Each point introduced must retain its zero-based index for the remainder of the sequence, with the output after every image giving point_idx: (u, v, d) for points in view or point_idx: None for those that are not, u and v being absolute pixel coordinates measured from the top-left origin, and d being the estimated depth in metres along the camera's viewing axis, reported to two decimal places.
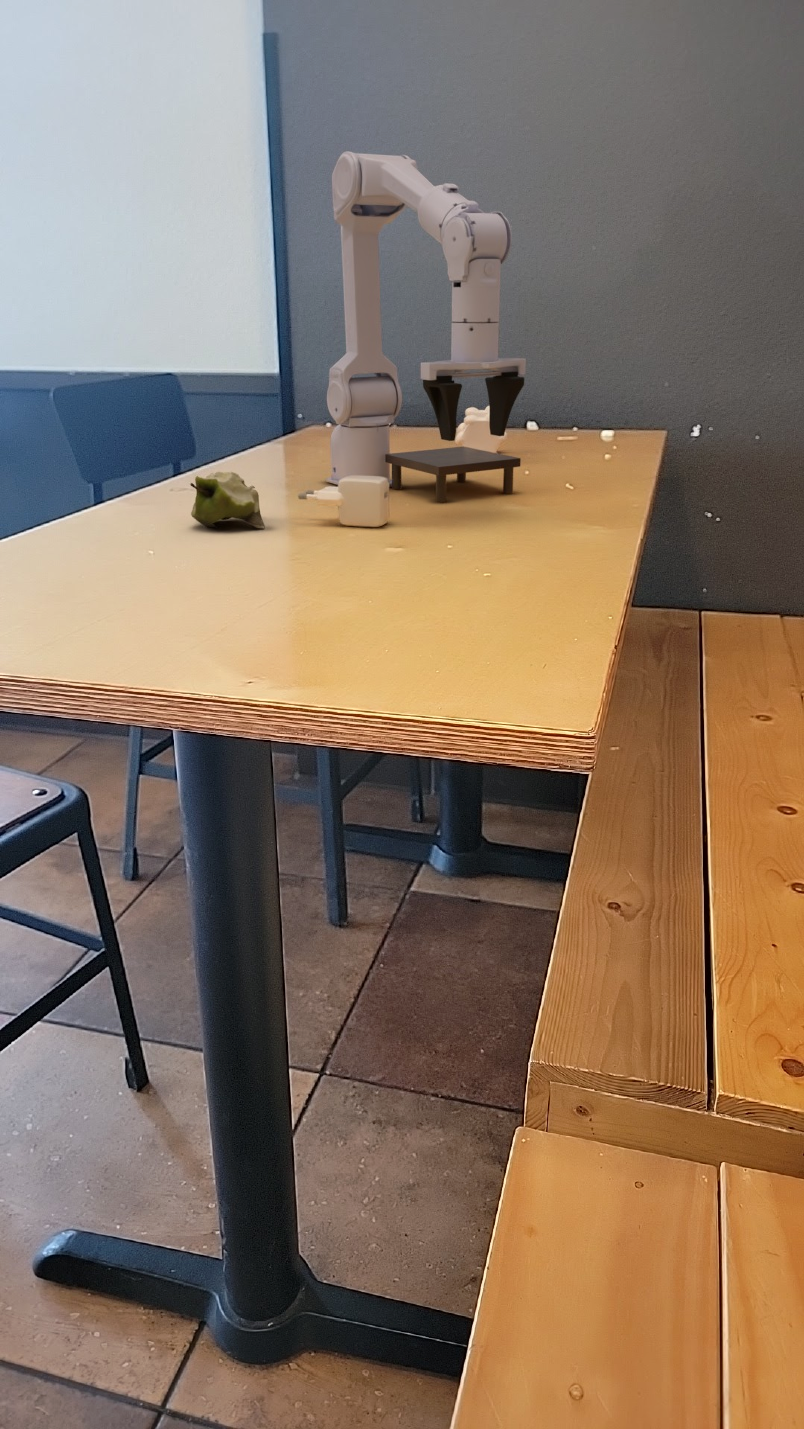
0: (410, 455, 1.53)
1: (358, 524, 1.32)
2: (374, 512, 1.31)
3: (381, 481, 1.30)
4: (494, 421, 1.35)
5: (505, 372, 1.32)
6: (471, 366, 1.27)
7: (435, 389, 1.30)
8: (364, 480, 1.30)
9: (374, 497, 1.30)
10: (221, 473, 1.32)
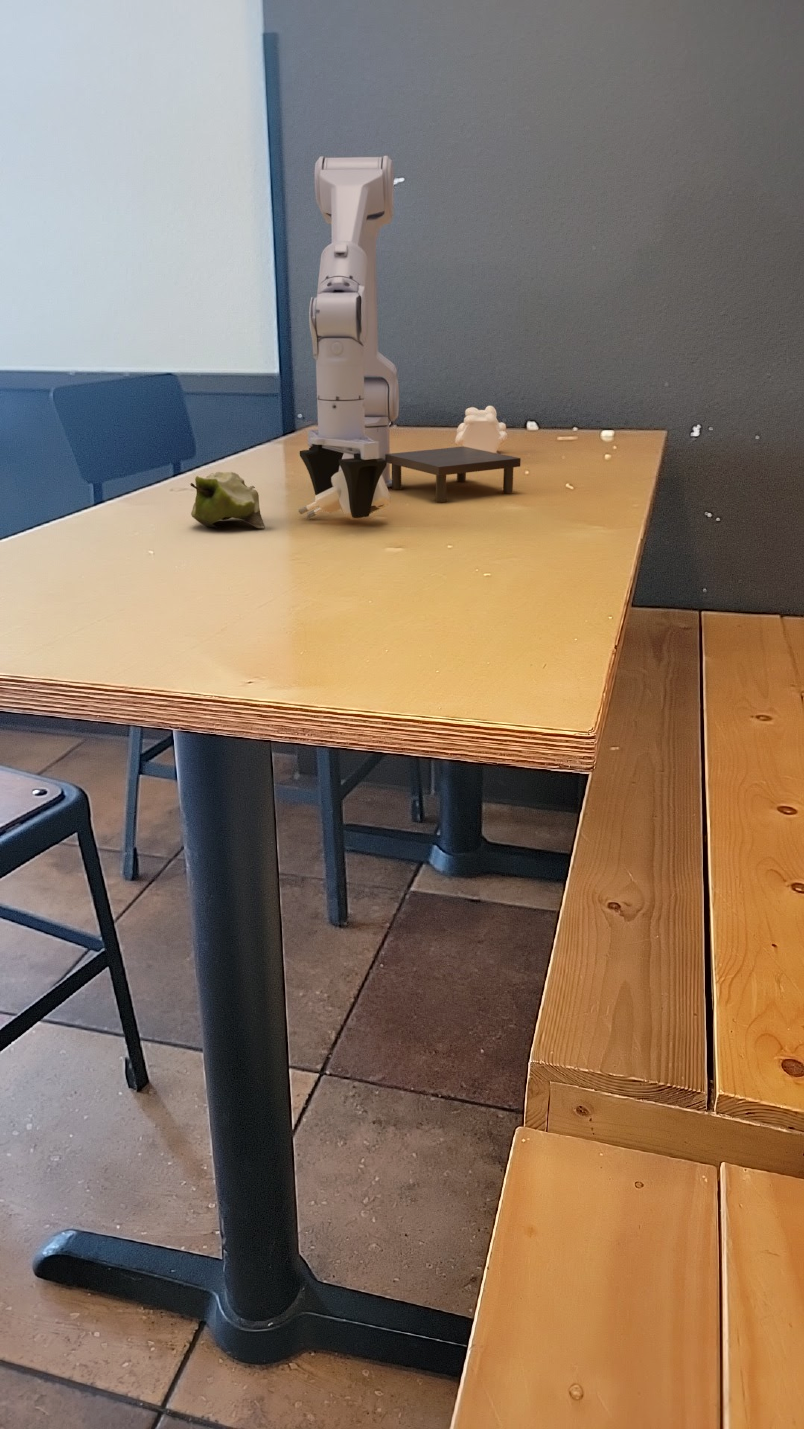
0: (410, 455, 1.53)
1: None
2: None
3: None
4: None
5: (357, 454, 1.27)
6: None
7: None
8: None
9: None
10: (221, 473, 1.32)
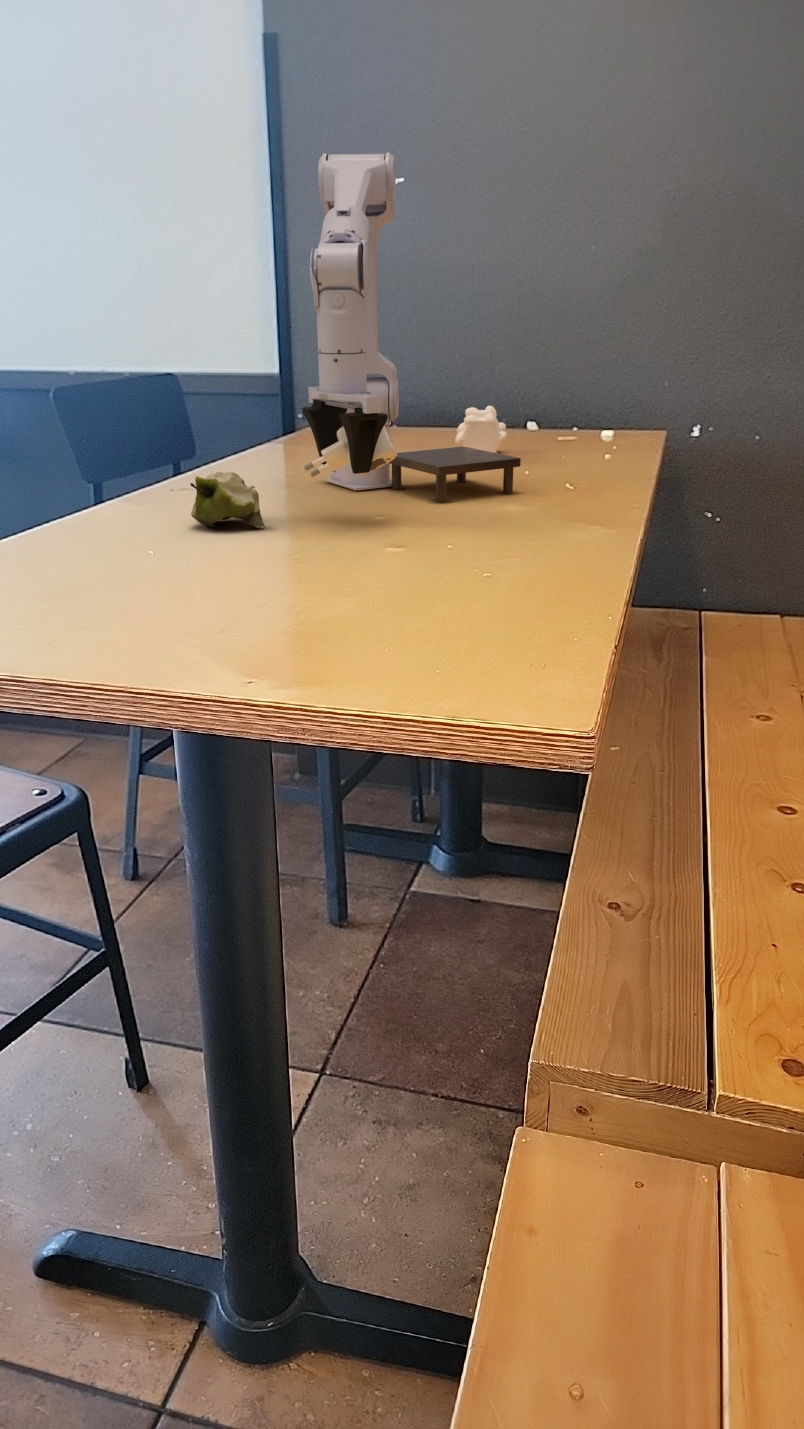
0: (410, 455, 1.53)
1: None
2: (380, 437, 1.29)
3: None
4: None
5: (357, 408, 1.25)
6: None
7: None
8: None
9: None
10: (221, 473, 1.32)
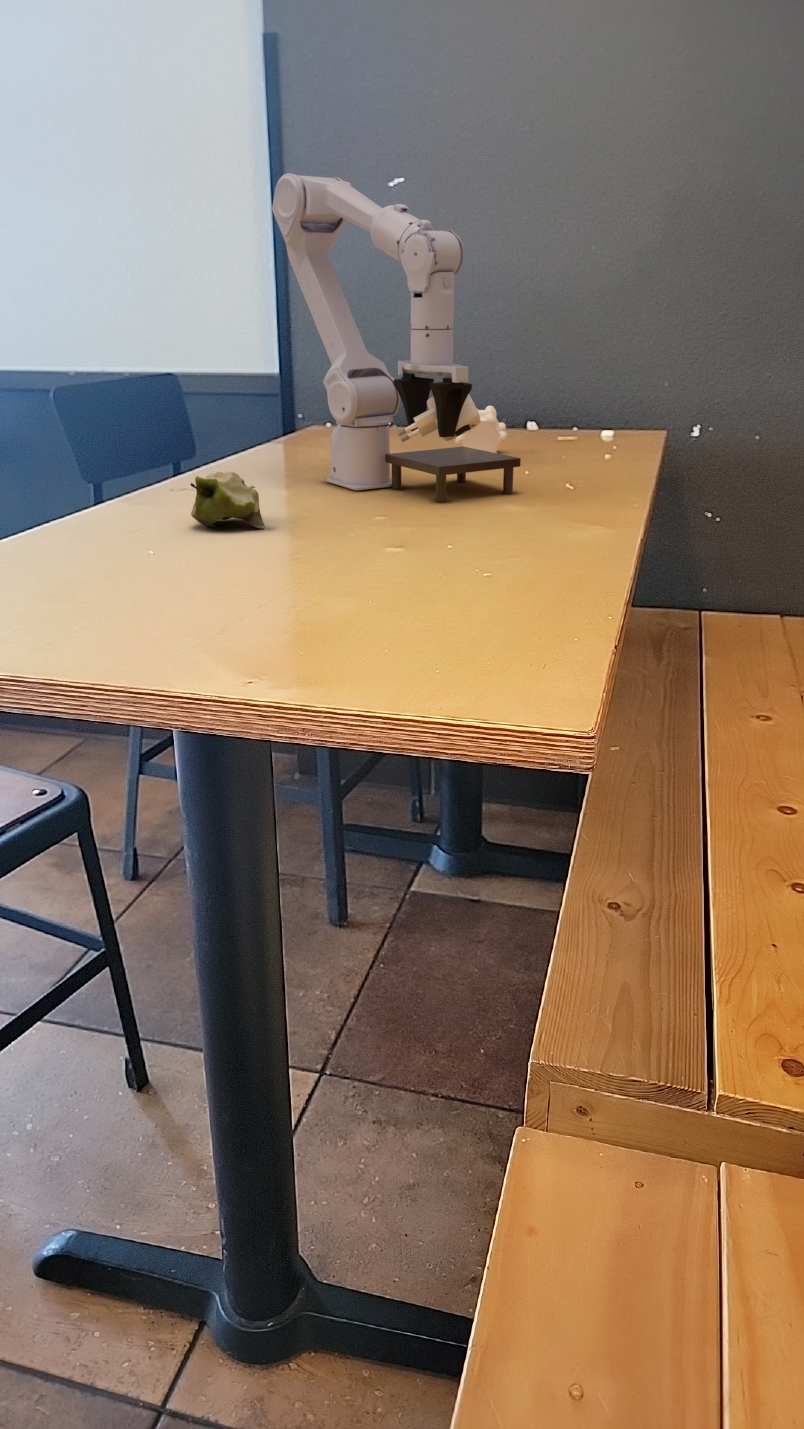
0: (410, 455, 1.53)
1: (459, 424, 1.44)
2: (468, 406, 1.44)
3: None
4: None
5: (445, 378, 1.40)
6: None
7: None
8: None
9: None
10: (221, 473, 1.32)
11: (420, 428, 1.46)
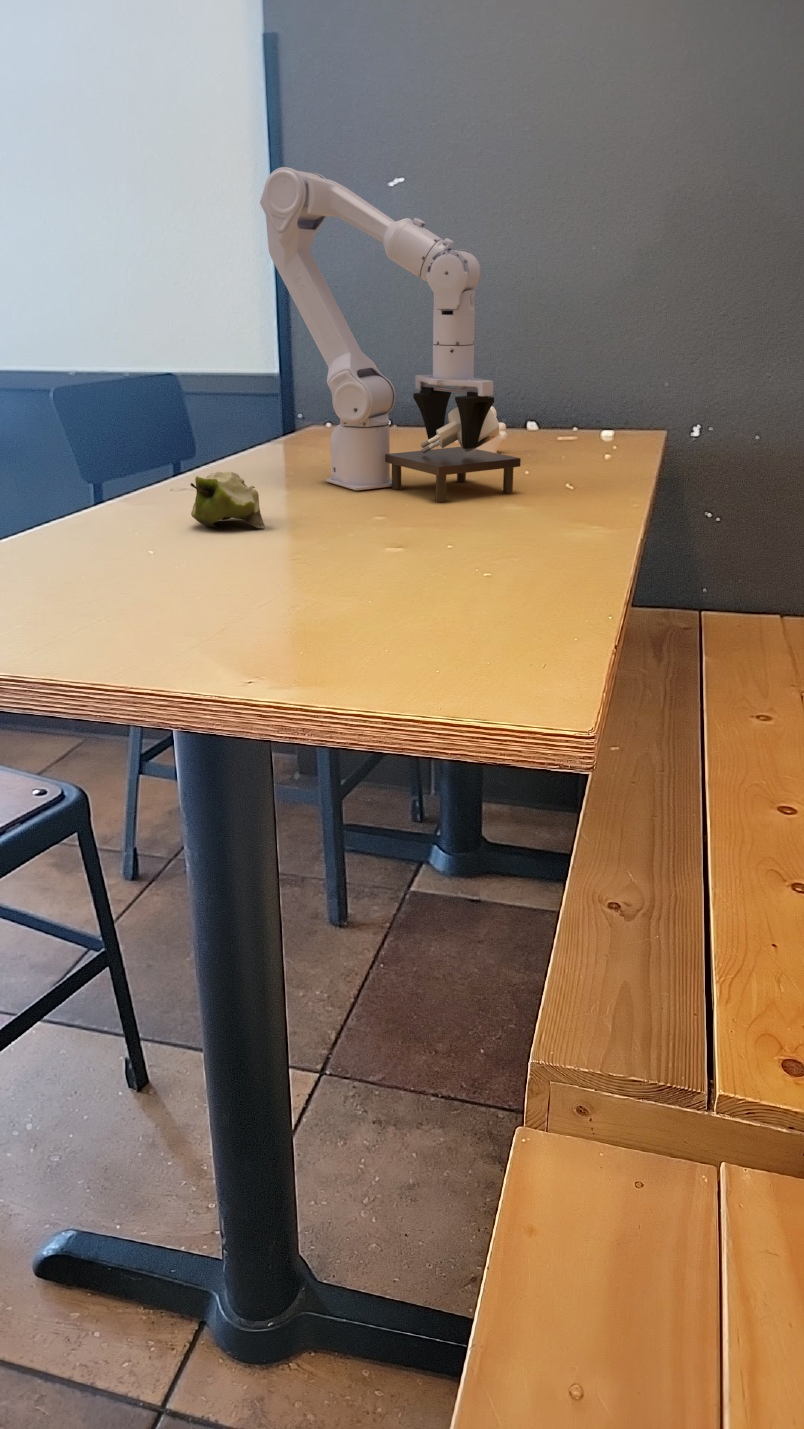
0: (410, 455, 1.53)
1: (481, 435, 1.50)
2: (489, 418, 1.50)
3: None
4: None
5: (470, 391, 1.46)
6: None
7: None
8: None
9: None
10: (221, 473, 1.32)
11: (443, 440, 1.51)
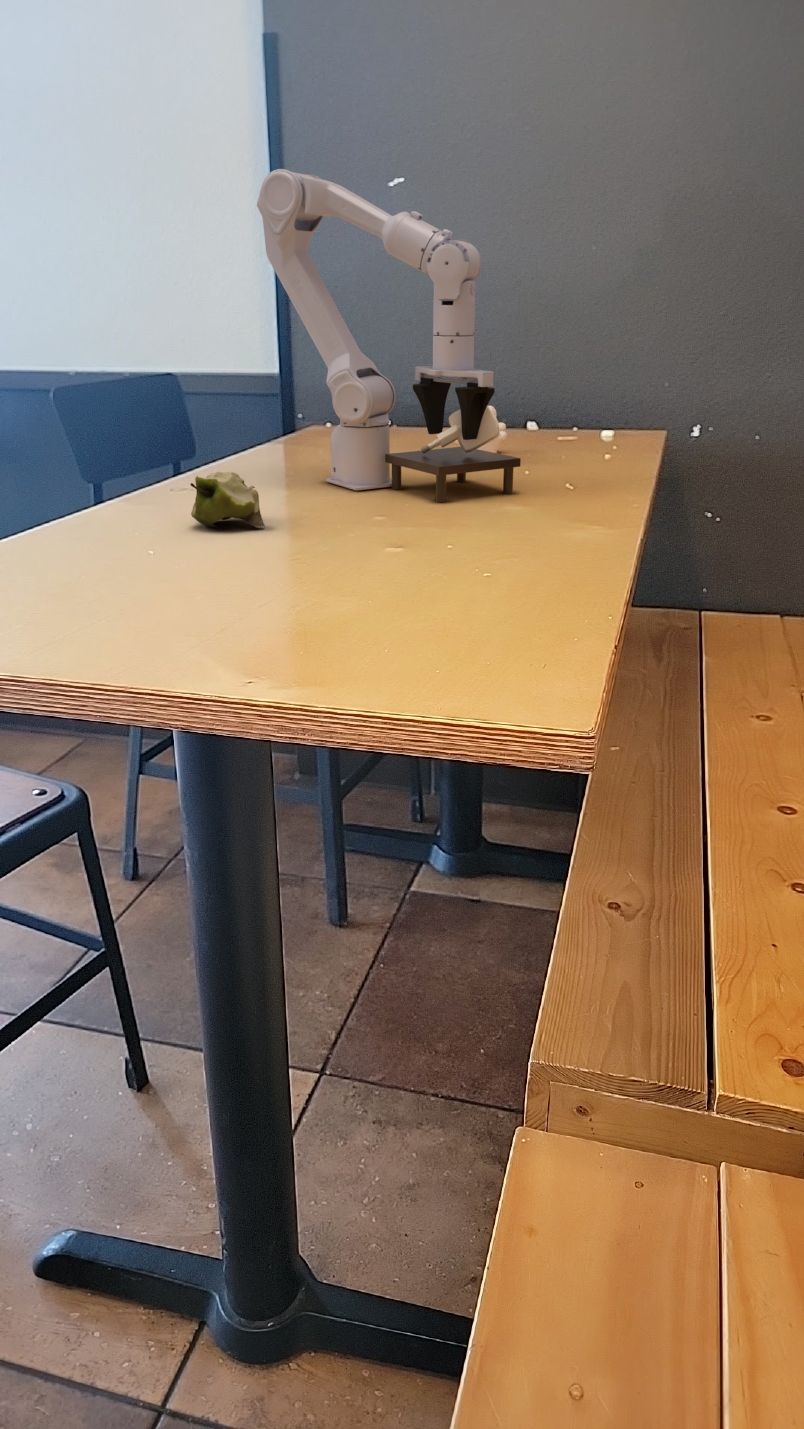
0: (410, 455, 1.53)
1: (482, 442, 1.50)
2: (490, 424, 1.49)
3: None
4: None
5: (470, 382, 1.45)
6: None
7: None
8: None
9: (484, 412, 1.49)
10: (221, 473, 1.32)
11: (443, 445, 1.50)
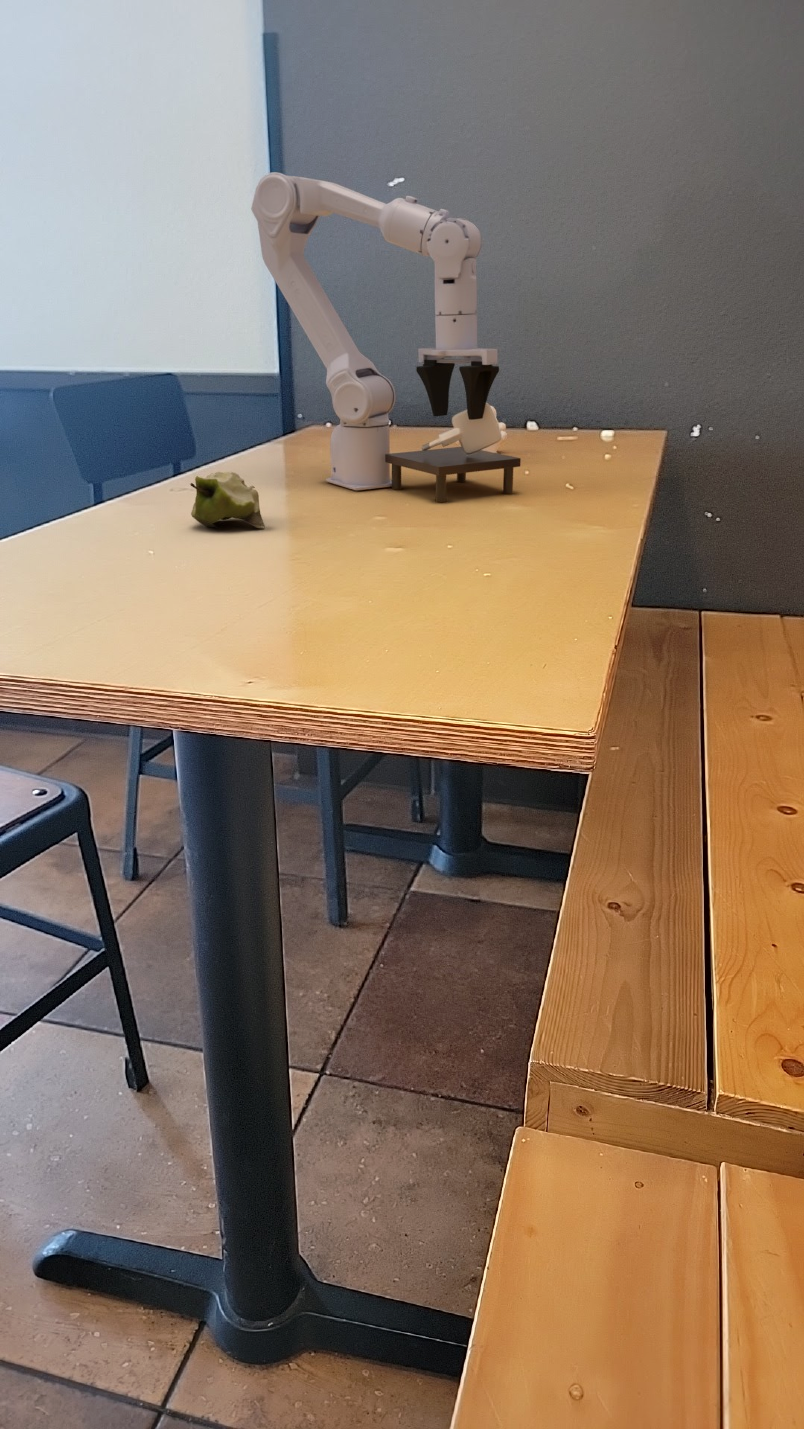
0: (410, 455, 1.53)
1: (483, 446, 1.50)
2: (492, 429, 1.49)
3: (486, 402, 1.49)
4: None
5: (474, 361, 1.44)
6: None
7: None
8: None
9: (488, 417, 1.49)
10: (221, 473, 1.32)
11: (444, 446, 1.50)
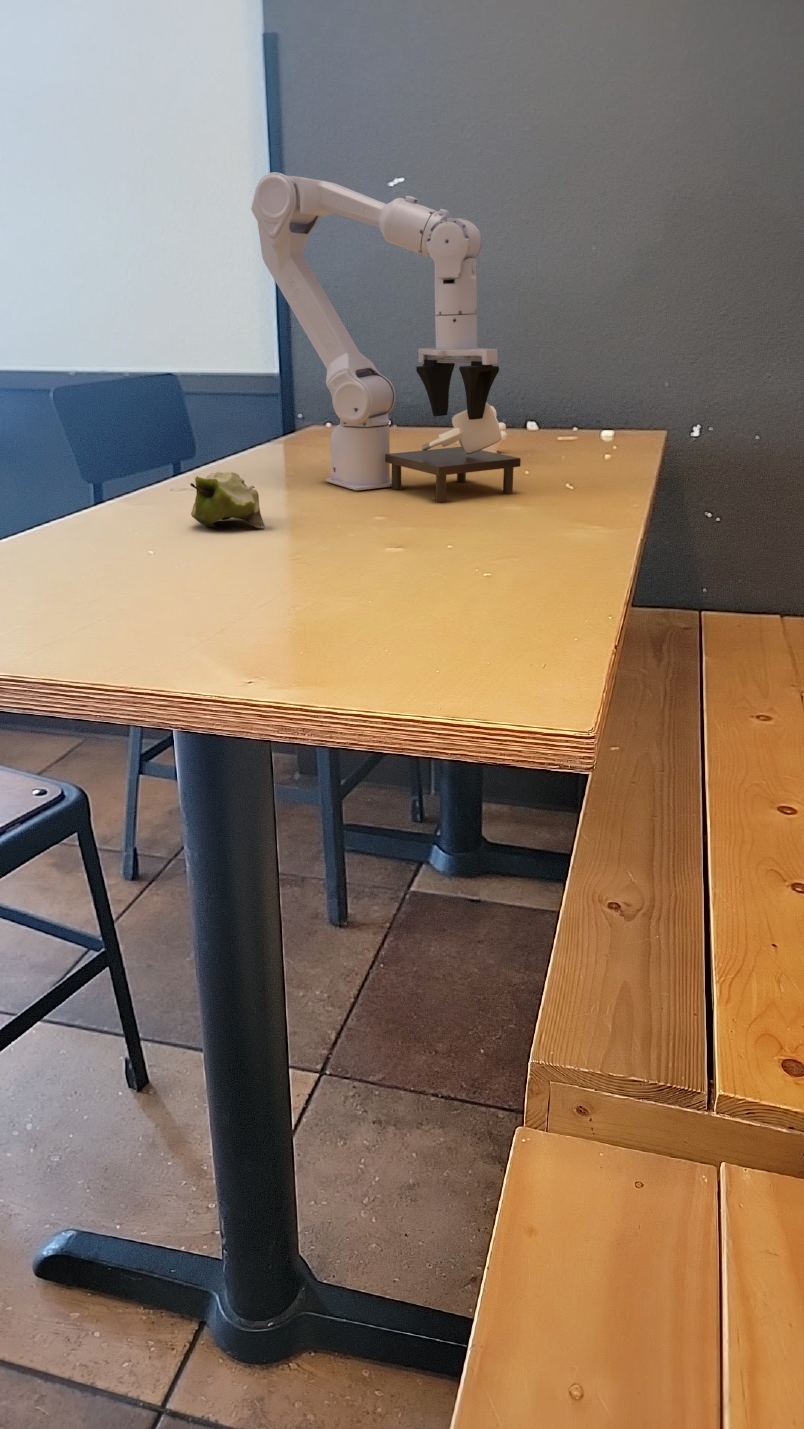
0: (410, 455, 1.53)
1: (483, 446, 1.50)
2: (492, 429, 1.49)
3: (486, 402, 1.49)
4: None
5: (474, 361, 1.44)
6: None
7: None
8: None
9: (488, 417, 1.48)
10: (221, 473, 1.32)
11: (444, 446, 1.50)
